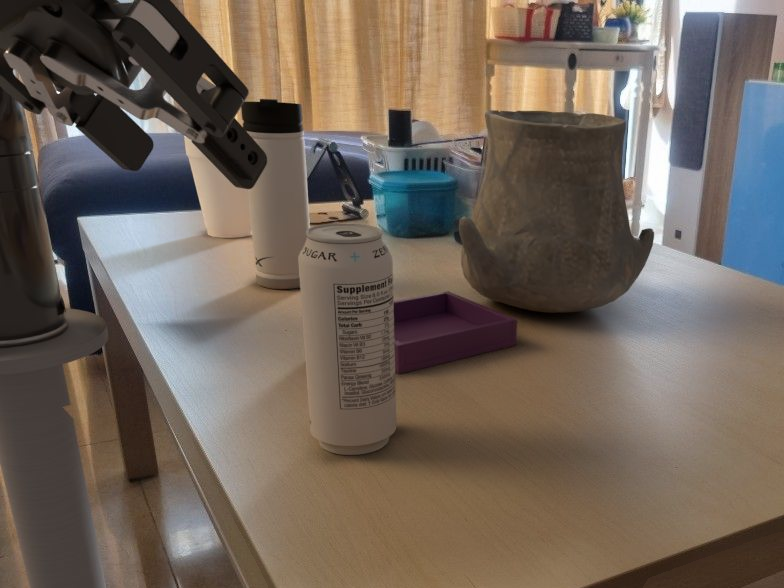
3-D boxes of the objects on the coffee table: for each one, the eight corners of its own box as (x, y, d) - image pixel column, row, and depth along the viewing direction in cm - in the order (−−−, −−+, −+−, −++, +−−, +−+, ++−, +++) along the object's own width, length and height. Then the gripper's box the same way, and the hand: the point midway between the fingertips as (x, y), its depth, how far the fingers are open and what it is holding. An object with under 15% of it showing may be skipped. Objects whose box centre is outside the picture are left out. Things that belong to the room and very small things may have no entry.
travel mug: (253, 291, 92) (235, 98, 84) (259, 275, 98) (243, 93, 90) (312, 290, 93) (300, 100, 85) (314, 274, 99) (303, 96, 91)
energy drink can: (367, 414, 64) (359, 218, 58) (413, 442, 60) (410, 234, 54) (295, 435, 60) (279, 227, 54) (339, 467, 56) (326, 246, 50)
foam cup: (279, 235, 117) (271, 138, 112) (216, 243, 111) (205, 141, 106) (244, 223, 123) (236, 130, 118) (183, 230, 117) (171, 133, 112)
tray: (398, 374, 72) (398, 345, 71) (334, 338, 79) (333, 311, 78) (516, 345, 80) (517, 319, 79) (448, 315, 88) (448, 291, 86)
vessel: (604, 272, 107) (617, 107, 99) (669, 327, 87) (692, 127, 79) (434, 275, 102) (434, 101, 94) (463, 334, 82) (466, 121, 74)
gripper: (82, -215, 28) (331, 122, 42) (-141, -184, 34) (142, 101, 48) (-46, -56, 26) (261, 244, 40) (-259, -53, 32) (72, 206, 46)
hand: (196, 166), depth 44 cm, fingers open, 8 cm apart
